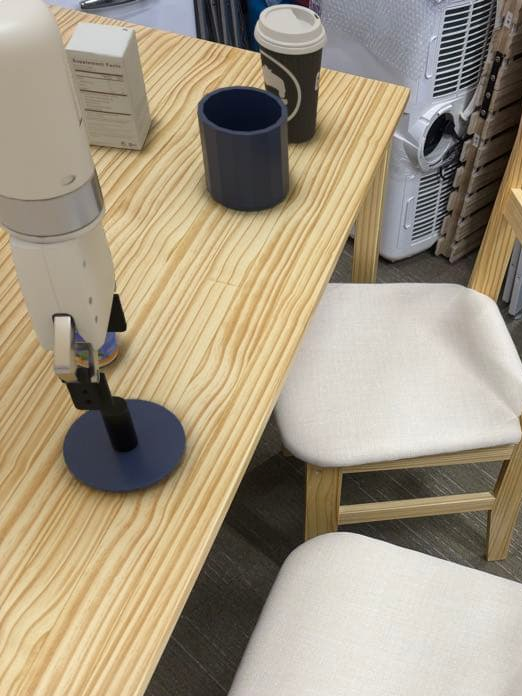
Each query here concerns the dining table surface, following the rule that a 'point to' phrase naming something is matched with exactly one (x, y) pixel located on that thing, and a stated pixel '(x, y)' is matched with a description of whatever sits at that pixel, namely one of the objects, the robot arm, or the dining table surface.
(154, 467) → the lid
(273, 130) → the tin
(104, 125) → the white packaging box
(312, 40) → the coffee cup
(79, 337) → the pill bottle
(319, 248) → the dining table surface
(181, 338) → the dining table surface
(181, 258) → the dining table surface
